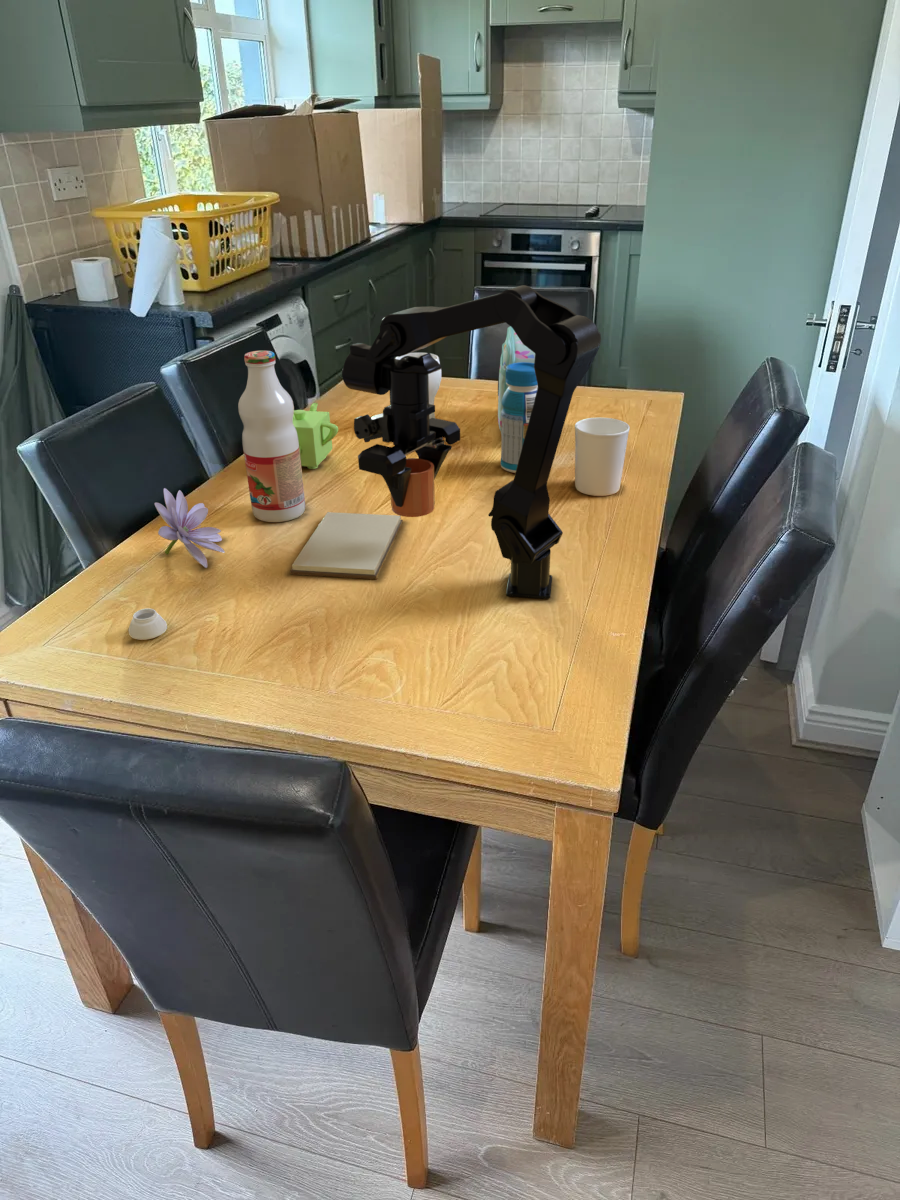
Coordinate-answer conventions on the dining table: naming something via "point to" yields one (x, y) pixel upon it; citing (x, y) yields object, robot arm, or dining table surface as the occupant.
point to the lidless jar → (146, 624)
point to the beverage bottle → (516, 411)
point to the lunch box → (511, 354)
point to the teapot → (314, 435)
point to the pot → (418, 490)
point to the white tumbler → (600, 455)
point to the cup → (429, 379)
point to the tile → (348, 546)
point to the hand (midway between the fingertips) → (413, 498)
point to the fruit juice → (270, 443)
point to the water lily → (187, 526)
